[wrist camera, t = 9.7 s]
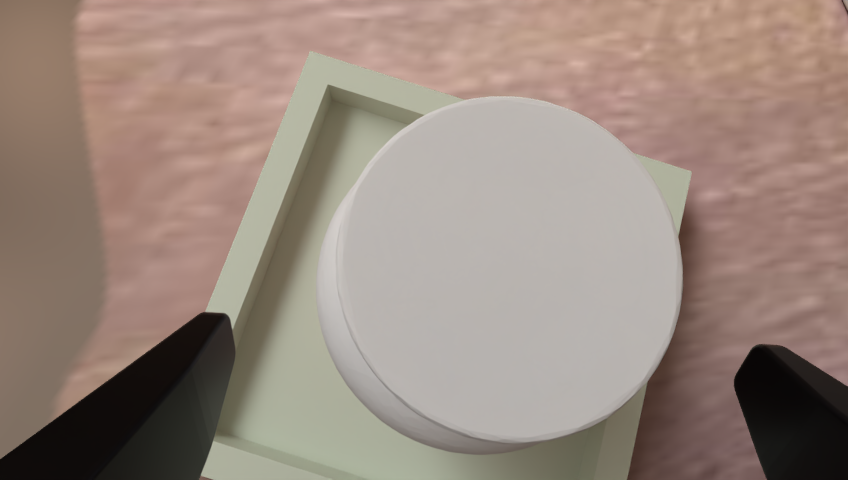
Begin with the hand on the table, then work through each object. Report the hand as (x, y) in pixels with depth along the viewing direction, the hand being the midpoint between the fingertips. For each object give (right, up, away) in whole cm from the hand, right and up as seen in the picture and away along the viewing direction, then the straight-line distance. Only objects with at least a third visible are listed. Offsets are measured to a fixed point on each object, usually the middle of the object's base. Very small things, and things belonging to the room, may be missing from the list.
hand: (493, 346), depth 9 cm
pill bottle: (-1, -1, +9) cm, 9 cm away
